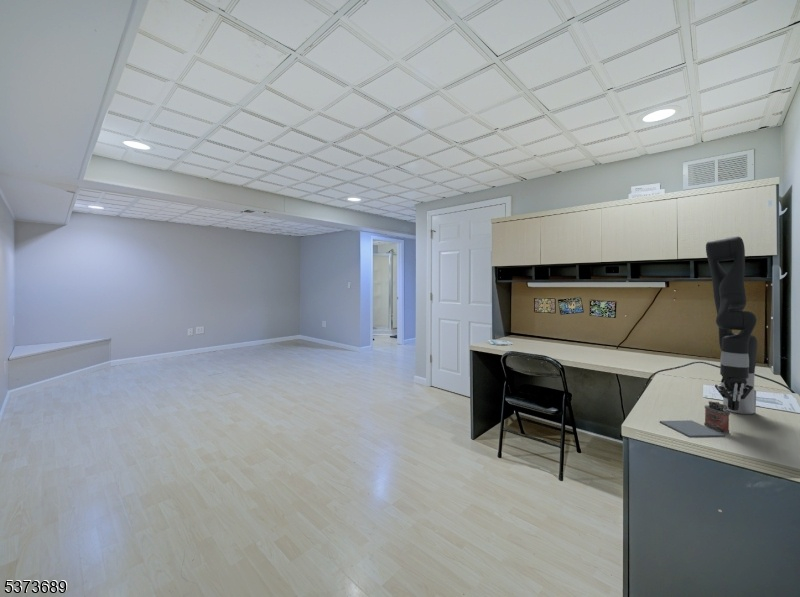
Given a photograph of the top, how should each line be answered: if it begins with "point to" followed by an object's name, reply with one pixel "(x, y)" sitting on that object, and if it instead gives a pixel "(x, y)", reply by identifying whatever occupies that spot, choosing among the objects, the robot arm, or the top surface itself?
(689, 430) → the mat
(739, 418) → the top surface
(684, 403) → the top surface
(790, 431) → the top surface
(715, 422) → the lighter
